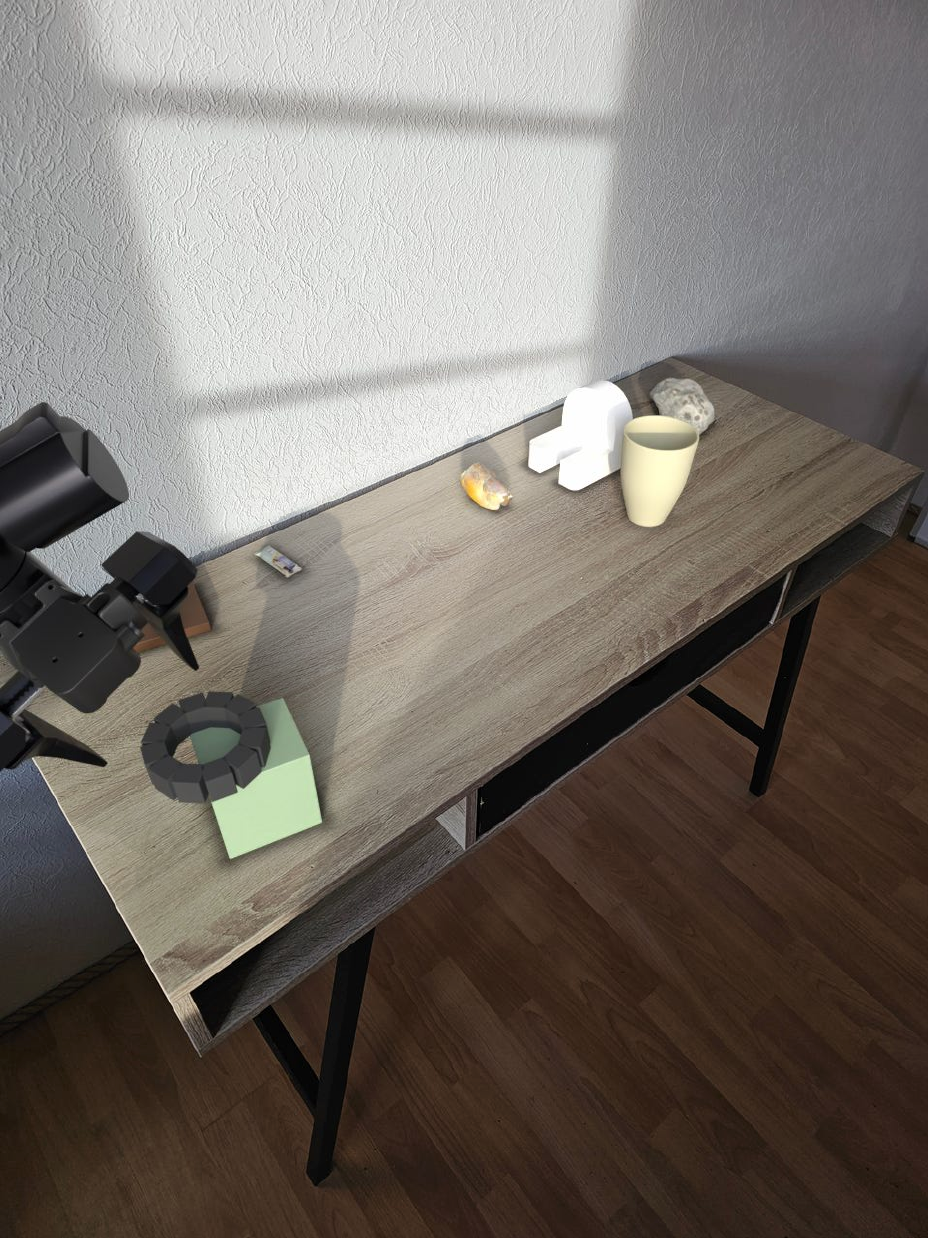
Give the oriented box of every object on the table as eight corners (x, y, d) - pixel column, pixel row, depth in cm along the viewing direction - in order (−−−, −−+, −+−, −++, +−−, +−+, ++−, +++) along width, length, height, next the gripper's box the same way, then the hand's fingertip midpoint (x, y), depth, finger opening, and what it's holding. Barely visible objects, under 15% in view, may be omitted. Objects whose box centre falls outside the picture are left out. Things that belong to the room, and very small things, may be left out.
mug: (701, 520, 105) (721, 436, 97) (643, 544, 101) (658, 458, 93) (644, 482, 112) (658, 400, 104) (587, 503, 108) (597, 419, 100)
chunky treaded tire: (162, 821, 60) (154, 801, 58) (139, 735, 66) (131, 714, 64) (284, 775, 63) (280, 755, 61) (251, 697, 69) (246, 677, 67)
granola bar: (254, 556, 99) (252, 549, 98) (270, 548, 100) (268, 541, 99) (288, 581, 95) (286, 573, 95) (304, 572, 96) (303, 565, 96)
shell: (522, 503, 109) (521, 485, 104) (499, 526, 108) (497, 510, 103) (478, 469, 111) (475, 451, 107) (455, 491, 110) (452, 474, 106)
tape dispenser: (524, 464, 116) (528, 393, 109) (608, 424, 125) (617, 356, 118) (574, 492, 110) (582, 418, 103) (658, 448, 119) (671, 378, 112)
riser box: (230, 859, 67) (208, 792, 62) (209, 797, 72) (187, 729, 66) (322, 823, 70) (310, 754, 64) (296, 765, 75) (283, 697, 69)
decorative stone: (628, 410, 128) (632, 379, 125) (679, 393, 133) (685, 364, 130) (682, 442, 121) (689, 411, 117) (735, 424, 125) (742, 393, 122)
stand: (135, 653, 86) (116, 600, 81) (122, 609, 91) (104, 557, 87) (211, 630, 89) (197, 578, 84) (194, 589, 94) (180, 537, 90)
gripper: (-110, 753, 42) (100, 874, 52) (158, 502, 47) (297, 658, 58) (-155, 674, 49) (38, 795, 60) (82, 465, 54) (218, 610, 65)
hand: (150, 714), depth 61 cm, fingers open, 9 cm apart
